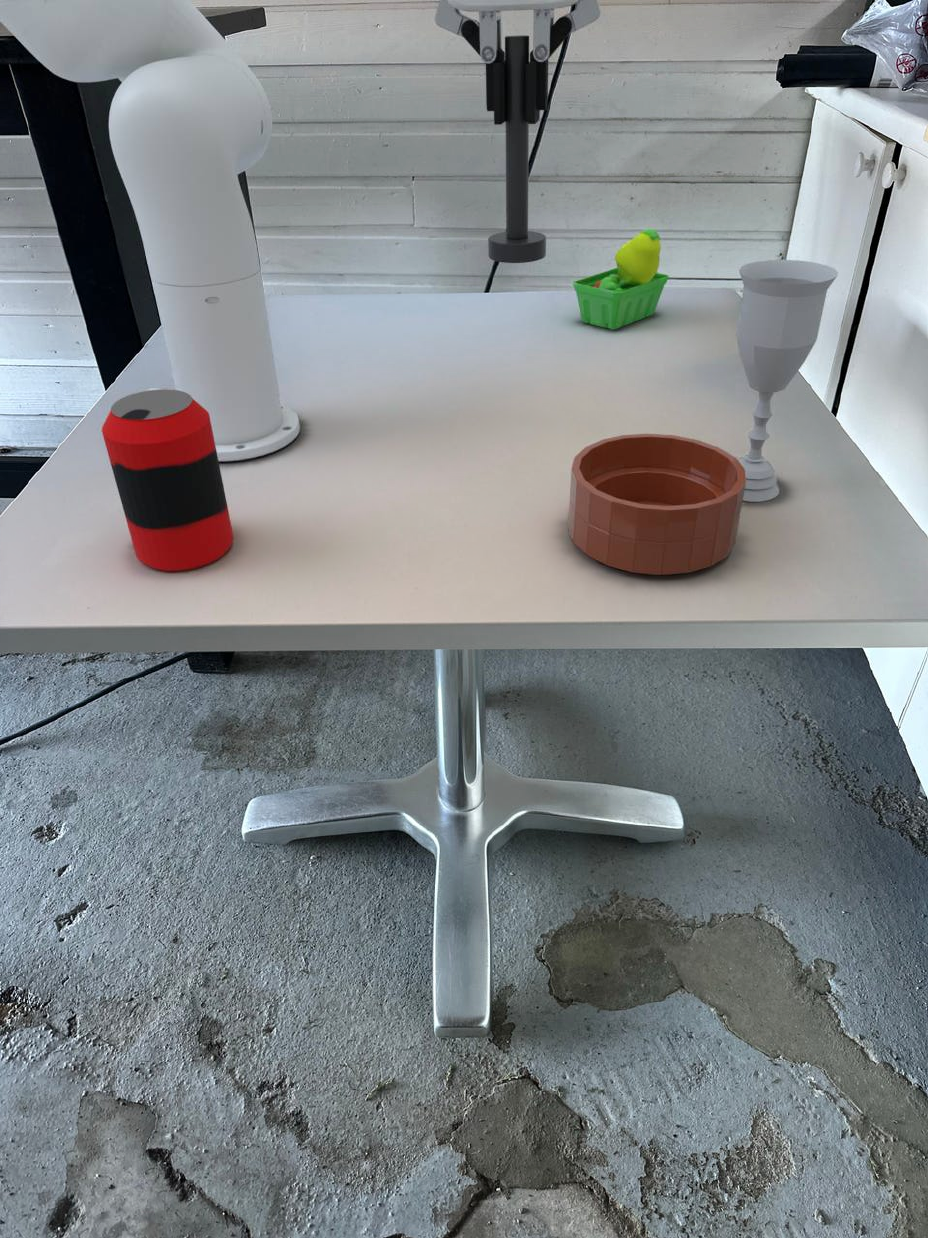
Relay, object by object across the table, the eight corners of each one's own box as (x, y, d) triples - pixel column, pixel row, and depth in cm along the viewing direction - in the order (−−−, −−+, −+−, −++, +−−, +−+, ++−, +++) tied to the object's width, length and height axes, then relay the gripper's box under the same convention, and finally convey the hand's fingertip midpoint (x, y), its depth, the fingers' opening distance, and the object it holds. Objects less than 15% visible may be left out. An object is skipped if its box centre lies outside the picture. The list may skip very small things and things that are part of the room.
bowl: (559, 572, 67) (562, 501, 63) (577, 494, 77) (581, 428, 73) (735, 589, 64) (749, 516, 61) (730, 506, 74) (742, 439, 71)
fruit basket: (620, 303, 122) (627, 214, 115) (675, 315, 117) (686, 223, 110) (567, 322, 115) (572, 229, 109) (624, 337, 110) (632, 240, 104)
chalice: (740, 514, 73) (781, 288, 63) (690, 481, 78) (719, 267, 68) (809, 494, 76) (859, 275, 65) (756, 464, 81) (794, 255, 70)
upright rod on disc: (484, 262, 73) (479, 38, 64) (493, 248, 77) (490, 35, 68) (542, 263, 72) (545, 36, 63) (548, 249, 76) (552, 33, 67)
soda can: (117, 567, 69) (74, 420, 62) (166, 520, 75) (132, 381, 68) (207, 578, 67) (174, 428, 60) (249, 529, 73) (223, 387, 66)
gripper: (641, -199, 60) (622, 114, 71) (412, -181, 63) (428, 117, 73) (637, -218, 54) (618, 127, 65) (385, -198, 57) (406, 130, 67)
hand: (517, 119), depth 69 cm, fingers closed on upright rod on disc
